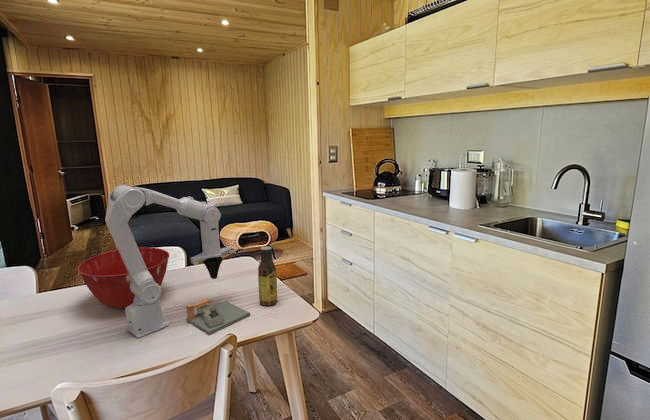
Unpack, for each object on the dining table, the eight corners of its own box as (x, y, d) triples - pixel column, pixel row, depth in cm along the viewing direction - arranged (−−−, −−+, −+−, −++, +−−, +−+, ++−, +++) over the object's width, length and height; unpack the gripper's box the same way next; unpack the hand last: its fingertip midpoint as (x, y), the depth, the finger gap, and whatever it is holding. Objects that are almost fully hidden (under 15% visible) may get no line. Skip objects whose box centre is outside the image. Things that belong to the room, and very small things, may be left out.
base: (209, 335, 109) (207, 317, 108) (186, 320, 118) (184, 304, 116) (250, 315, 120) (249, 299, 119) (226, 303, 129) (225, 288, 127)
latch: (224, 322, 114) (223, 314, 114) (210, 327, 111) (209, 319, 111) (207, 308, 123) (207, 302, 122) (194, 313, 120) (194, 306, 119)
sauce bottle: (274, 307, 126) (271, 251, 121) (256, 306, 127) (253, 250, 123) (280, 298, 132) (277, 245, 128) (263, 297, 133) (260, 244, 129)
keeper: (190, 320, 116) (189, 306, 115) (187, 318, 117) (186, 305, 116) (211, 311, 121) (210, 298, 120) (208, 309, 123) (207, 296, 122)
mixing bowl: (187, 284, 145) (183, 247, 142) (146, 321, 118) (140, 276, 114) (119, 282, 148) (114, 246, 145) (63, 318, 120) (55, 274, 117)
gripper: (197, 247, 117) (201, 287, 120) (235, 237, 127) (238, 274, 130) (185, 243, 121) (189, 282, 124) (223, 233, 132) (226, 269, 135)
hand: (213, 277), depth 127 cm, fingers closed
